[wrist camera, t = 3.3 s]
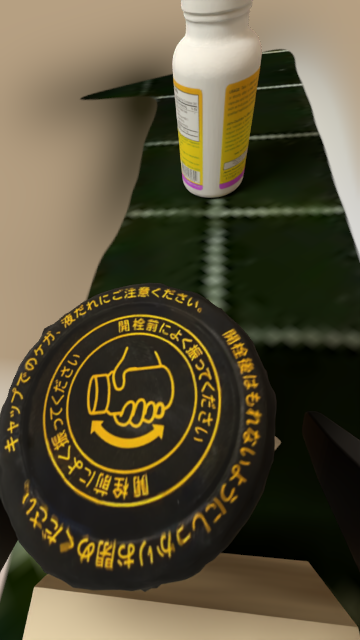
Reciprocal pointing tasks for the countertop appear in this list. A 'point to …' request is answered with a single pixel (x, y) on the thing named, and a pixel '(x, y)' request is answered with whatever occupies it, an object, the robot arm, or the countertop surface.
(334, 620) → the wooden block
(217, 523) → the condiment
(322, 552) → the countertop surface
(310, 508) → the countertop surface
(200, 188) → the supplement bottle
